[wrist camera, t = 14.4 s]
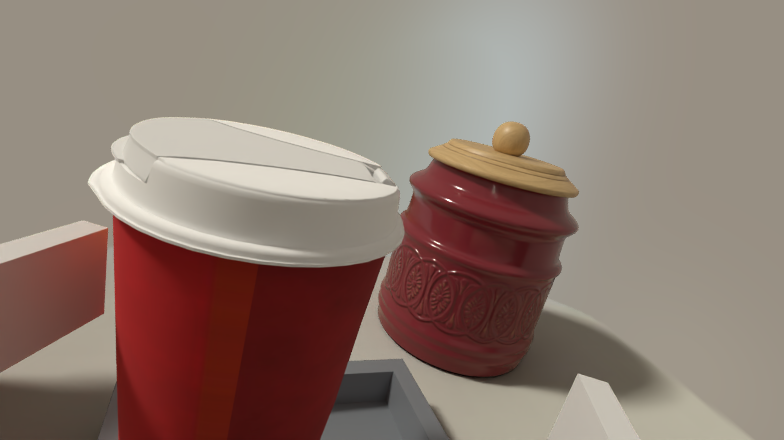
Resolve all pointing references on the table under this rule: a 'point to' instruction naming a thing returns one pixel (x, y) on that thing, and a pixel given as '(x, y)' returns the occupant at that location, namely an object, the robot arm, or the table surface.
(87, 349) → the table surface
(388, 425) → the tray
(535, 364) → the table surface
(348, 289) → the paper cup
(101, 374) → the table surface
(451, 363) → the canister
